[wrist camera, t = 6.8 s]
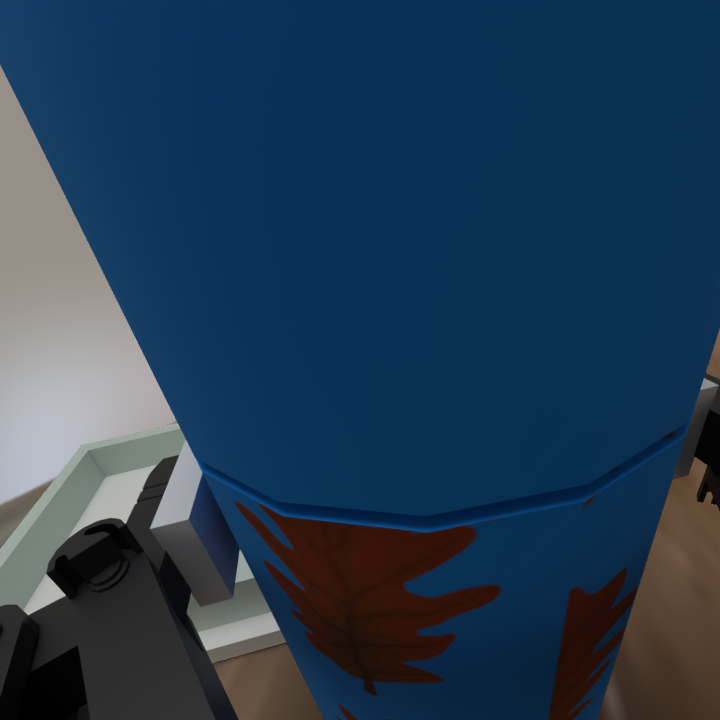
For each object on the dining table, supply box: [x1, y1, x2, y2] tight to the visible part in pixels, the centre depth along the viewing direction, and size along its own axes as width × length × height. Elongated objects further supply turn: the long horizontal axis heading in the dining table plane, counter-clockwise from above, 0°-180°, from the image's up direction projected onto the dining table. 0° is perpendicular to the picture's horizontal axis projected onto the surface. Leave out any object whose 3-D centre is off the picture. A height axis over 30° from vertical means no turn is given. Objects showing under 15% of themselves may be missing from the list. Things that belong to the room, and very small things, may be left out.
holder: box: [0, 423, 286, 663], centre depth 25 cm, size 18×18×4 cm
